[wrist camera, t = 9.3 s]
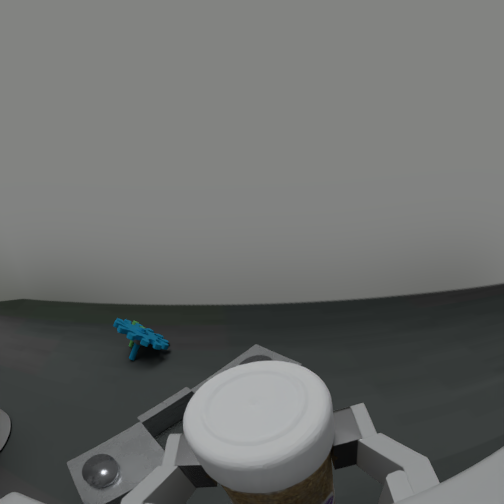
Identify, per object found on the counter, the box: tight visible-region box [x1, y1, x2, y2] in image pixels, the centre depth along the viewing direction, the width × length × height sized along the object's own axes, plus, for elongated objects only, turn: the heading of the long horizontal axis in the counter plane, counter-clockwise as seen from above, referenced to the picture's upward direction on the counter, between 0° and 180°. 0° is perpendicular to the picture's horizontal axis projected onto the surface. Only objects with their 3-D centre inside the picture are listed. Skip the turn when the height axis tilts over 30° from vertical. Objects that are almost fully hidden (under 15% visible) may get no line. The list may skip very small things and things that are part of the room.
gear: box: [113, 318, 169, 360], centre depth 47 cm, size 11×6×10 cm
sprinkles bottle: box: [183, 361, 335, 504], centre depth 10 cm, size 5×5×14 cm
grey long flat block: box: [67, 344, 302, 504], centre depth 28 cm, size 29×10×4 cm, turn 133°
